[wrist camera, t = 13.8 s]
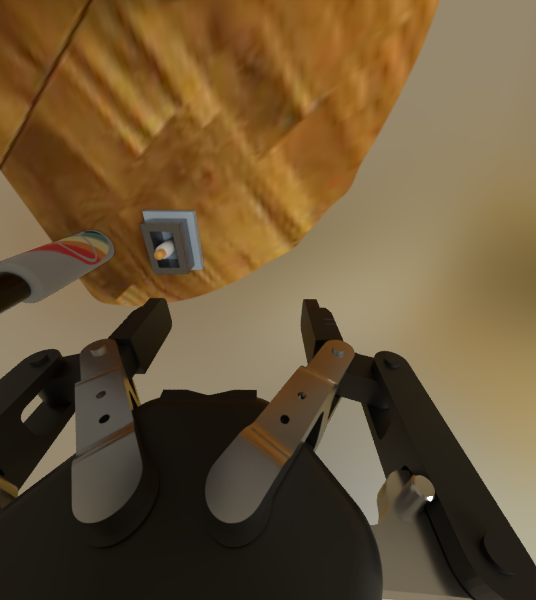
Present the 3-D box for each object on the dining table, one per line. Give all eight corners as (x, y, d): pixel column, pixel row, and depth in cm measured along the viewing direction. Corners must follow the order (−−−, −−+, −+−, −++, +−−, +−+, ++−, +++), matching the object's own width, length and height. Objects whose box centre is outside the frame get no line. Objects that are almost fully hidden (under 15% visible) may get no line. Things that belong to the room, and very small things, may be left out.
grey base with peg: (146, 209, 37) (118, 220, 30) (195, 210, 37) (178, 220, 30) (161, 266, 42) (140, 286, 35) (203, 266, 42) (191, 286, 35)
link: (151, 218, 36) (139, 223, 32) (186, 218, 36) (178, 224, 32) (163, 264, 40) (153, 274, 37) (194, 264, 40) (188, 274, 37)
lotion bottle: (102, 225, 38) (-34, 274, 21) (121, 256, 41) (16, 322, 24) (73, 233, 39) (-81, 288, 21) (94, 263, 41) (-27, 332, 24)
